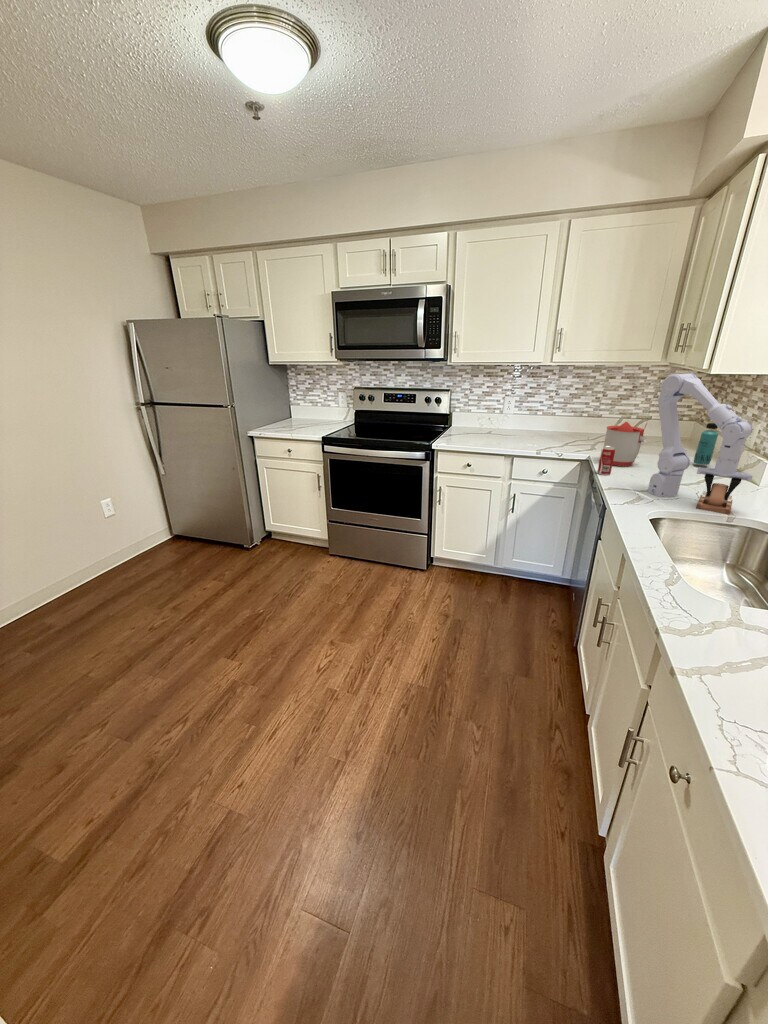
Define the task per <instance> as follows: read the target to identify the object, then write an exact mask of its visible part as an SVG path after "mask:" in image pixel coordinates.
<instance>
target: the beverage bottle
mask: <svg viewBox="0 0 768 1024" xmlns="http://www.w3.org/2000/svg"><path fill="white" fill-rule="evenodd" d="M705 428H706V430H702V432H701V435H700V437H699V438H700V439H699V441H698V445H697V446H696V450H695V453H694V454H695V455H694V458H693V463H694V464H696V465H701V466H702V465H703V466H709V465H710V463H711V462H712V458H713V455H714V451H715V446H716V444H717V441H718V437H719V433H718V432H717V431H716V430H717V429H718V428H719V427H718V426H717V425H716V424H715V423H714V422H712V423H711V422H709V423H708V422H707V424H706V427H705ZM709 429H710V430H709Z"/></svg>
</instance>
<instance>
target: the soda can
mask: <svg viewBox="0 0 768 1024" xmlns="http://www.w3.org/2000/svg"><path fill="white" fill-rule="evenodd" d="M614 454H615V447H611V446H604V445H603V447H602V448H601V452H600V458H599V463H598V468H597V474H598V475H600V476H610V475H612V474H611V473H612V469H613V465H612V464H613V459H614Z"/></svg>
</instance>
